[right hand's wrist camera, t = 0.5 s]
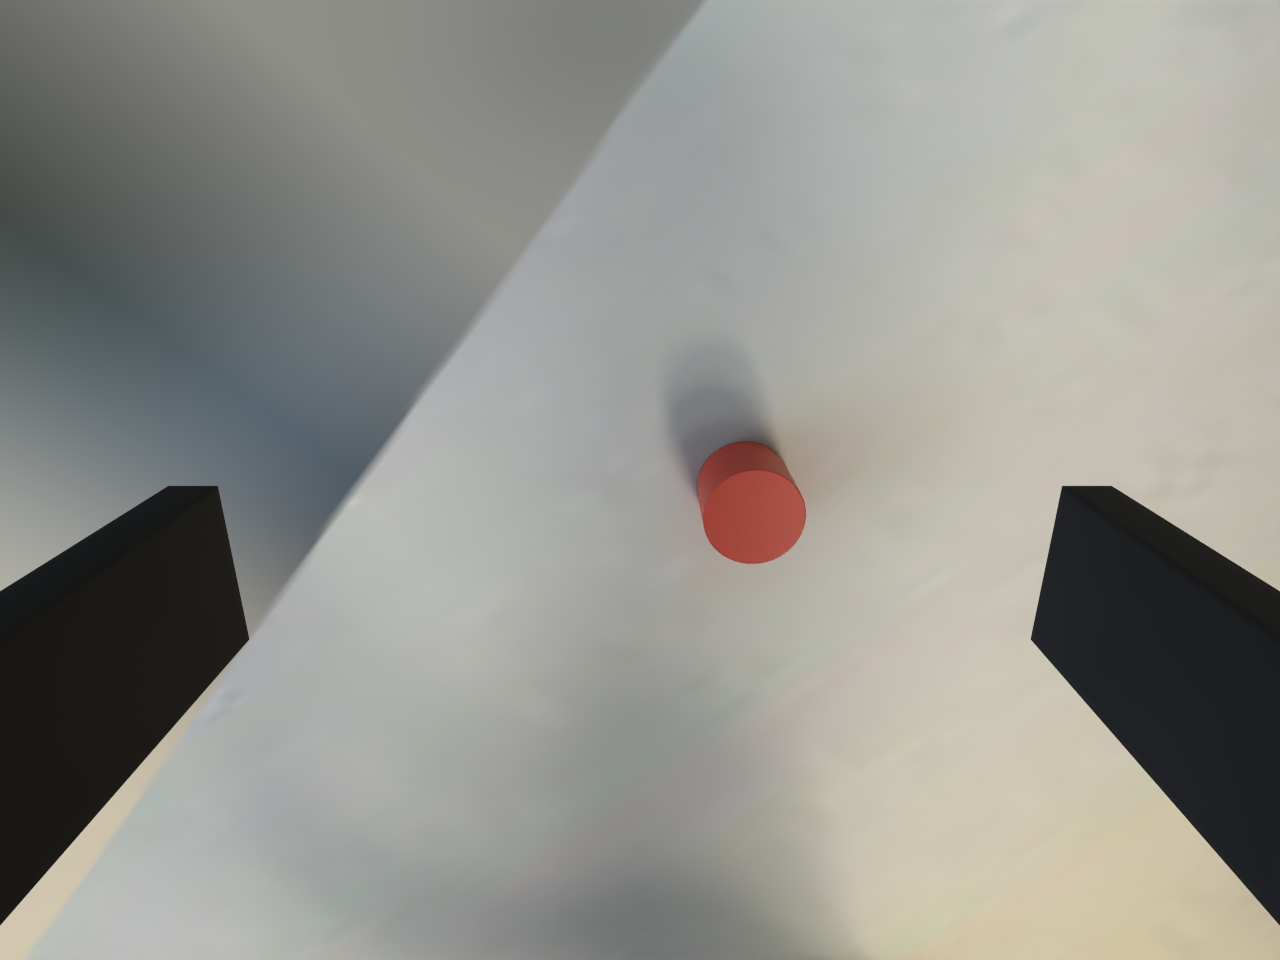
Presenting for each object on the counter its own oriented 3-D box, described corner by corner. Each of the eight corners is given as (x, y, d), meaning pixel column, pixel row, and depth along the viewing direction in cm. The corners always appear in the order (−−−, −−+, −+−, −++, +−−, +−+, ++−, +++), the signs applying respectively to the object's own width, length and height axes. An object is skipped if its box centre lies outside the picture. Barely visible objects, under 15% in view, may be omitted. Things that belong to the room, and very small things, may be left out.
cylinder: (807, 467, 38) (825, 497, 34) (759, 542, 39) (771, 579, 35) (726, 425, 37) (736, 451, 33) (680, 503, 38) (684, 537, 35)
